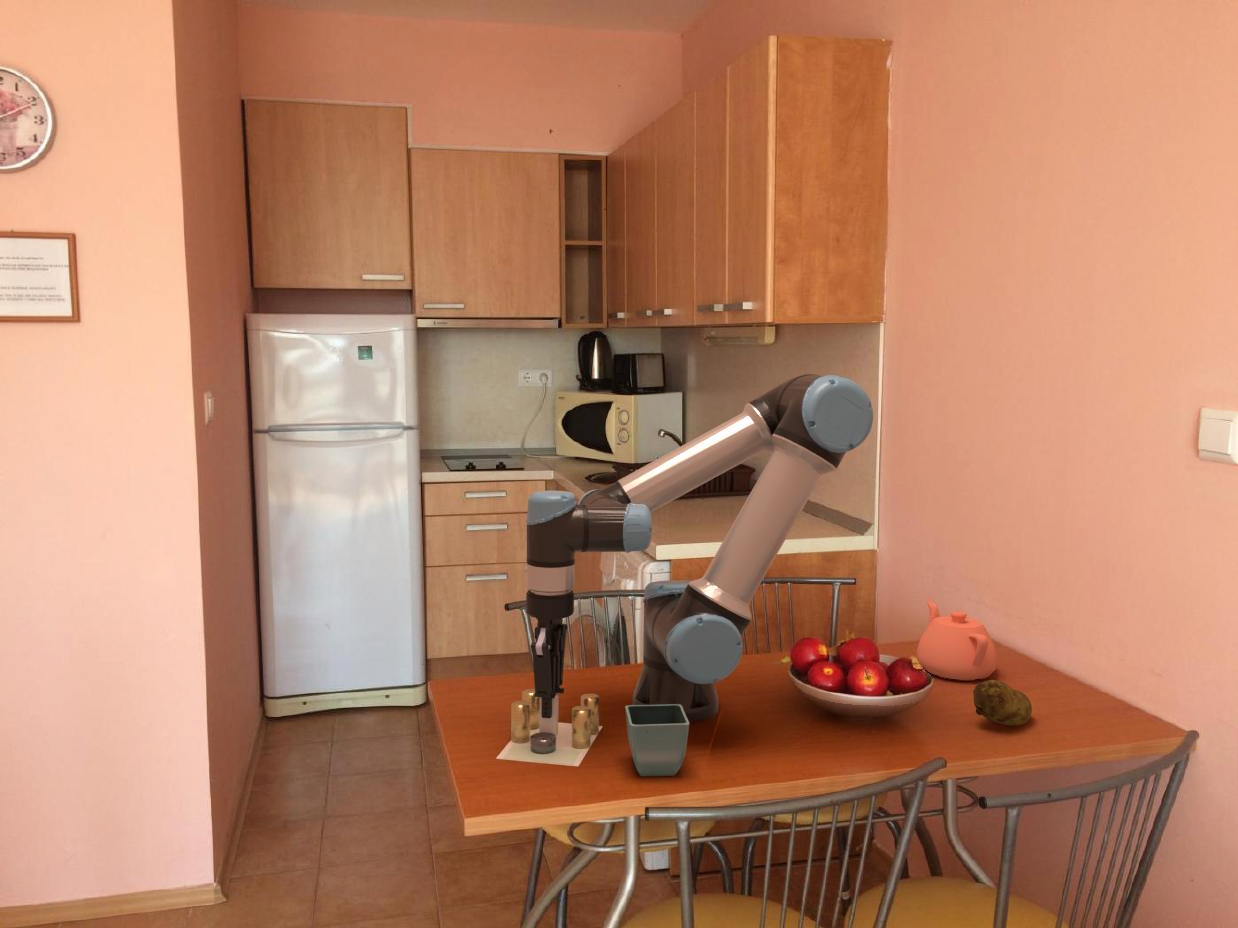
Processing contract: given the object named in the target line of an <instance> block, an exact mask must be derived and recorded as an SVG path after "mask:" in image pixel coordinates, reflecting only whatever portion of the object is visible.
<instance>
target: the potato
mask: <svg viewBox="0 0 1238 928" xmlns="http://www.w3.org/2000/svg"><path fill="white" fill-rule="evenodd" d="M972 694H973V704H974V706H975V714H977V715H978V716H983V717H984V718H985V719H987V720H989V721H990V722H995V723H999V724H1001V725H1003V726H1007V727H1019V726H1022V725H1024V724H1025V723H1027V722H1028V721H1029V719H1030V718H1031V716H1032V713H1033V708H1032V707H1033V706H1032V702H1031V700H1030V699H1029V697H1028V696H1027V695H1026V694H1024V693H1023V692H1022V691H1019V690H1017V689H1014V688H1012V687H1011V686H1010V685H1009V684H1007V683H1005V682H1004V681H1001V680H997V679H996V680H995V679H989V680H985V681H982V682H979V683H977V684H976V686H975V687H974V689H973V693H972ZM1018 725H1019V726H1018Z"/></svg>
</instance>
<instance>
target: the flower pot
mask: <svg viewBox="0 0 1238 928" xmlns="http://www.w3.org/2000/svg"><path fill="white" fill-rule="evenodd" d="M624 709H625V710H624V711H625V720H626V732H627V738H628V739H627V740H628V743H629V748H630V750H631V756H632V760H633V763H634V766H635V768H636V771H637V772H638V774H639V776H640V777H660V776H661V777H665V776H667V777H669V776H670V777H671V776H676V774H677V773H678V772H679V771H680V768H681V767H682V764H683V762H684V760H685V756H686V752H687V746H688V739H689V738H688V737H689V729H690V722H689V721H688V719H687V717H686V715H685V712H684V710H683V707H682V705H680V704H666V705H633V704H631V705H624Z"/></svg>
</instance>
